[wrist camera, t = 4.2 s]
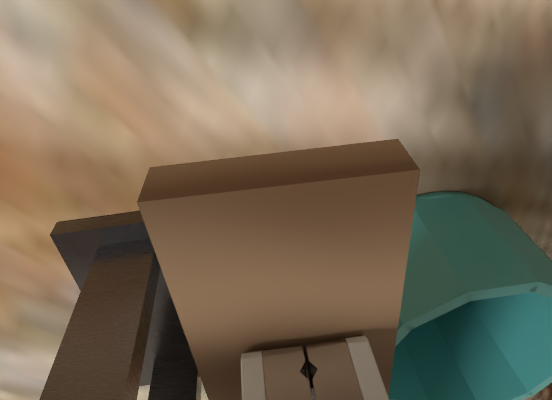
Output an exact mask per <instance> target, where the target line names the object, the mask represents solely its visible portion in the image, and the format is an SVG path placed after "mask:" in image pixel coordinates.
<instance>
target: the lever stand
mask: <svg viewBox="0 0 552 400" xmlns="http://www.w3.org/2000/svg"><path fill="white" fill-rule="evenodd" d="M50 236H51V238H52V240H53V241H54V243H55V245H56V247H57V249H58V251H59V252H60V254H61V256H62V258H63V260H64V261H65V263H66V265H67V267H68V269H69V270H70V272H71V274H72V276H73V278H74V279H75V281H76V283H77V285H78V287H79V289H80V290H81V292H80V295H79V298H78V300H77V303H76V305H75V308H74V311H73V313H72V316H71V318H70V321H69V324H68V326H67V329H66V332H65V334H64V337H63V339H62V342H61V345H60V347H59V350H58V353H57V355H56V358H55V360H54V363H53V366H52V368H51V371H50V373H49V376H48V379H47V381H46V384H45V387H44V389H43V392H42V394H41V397H40V400H137V395H138V389H139V386H144V385H150V391H149V397H148V400H201V377H200V375H199V372H198V369H197V366H196V364H195V361H194V358H193V355H192V352H191V350H190V347H189V344H188V341H187V339H186V336H185V333H184V330H183V328H182V325H181V322H180V319H179V317H178V314H177V311H176V308H175V306H174V303H173V300H172V297H171V295H170V292H169V289H168V286H167V284H166V281H165V278H164V275H163V273H162V270H161V267H160V264H159V262H158V259H157V256H156V253H155V250H154V248H153V245H152V242H151V239H150V237H149V234H148V231H147V228H146V226H145V223H144V220H143V217H142V215H141V212H140V211H137V212H130V213H123V214H115V215H108V216H101V217H93V218H86V219H79V220H71V221H64V222H57V223H56V225H55V227H54V228H53V230H52V232H51V234H50Z"/></svg>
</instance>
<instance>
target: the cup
mask: <svg viewBox="0 0 552 400" xmlns="http://www.w3.org/2000/svg"><path fill="white" fill-rule="evenodd" d="M550 383H552V260H551V259H550V258H549V257H548V256H547V255H546V254H545V253H544V252H543V251H542V250H541V249H540V248H539V247H538V246H537V245H536V243H535V242H534V241H533V240H532V239H531V238H530V237H529V236H528V235H527V234H526V233H525V232H524V231H523V230H522V229H521V228H520V227H519V226H518V225H517V224H516V223H515V222H514V221H513V220H512V219H511V218H510V216H509V215H508V214H507V213H506V212H505V211H504V210H502V209H499V208H497V207H495V206H494V205H492V204H491V203H489V202H488V201H487V200H484V199H482V198H480V197H478V196H475V195H472V194H469V193H463V192H454V191H441V192H431V193H425V194H420V195H416V201H415V208H414V215H413V223H412V230H411V237H410V244H409V252H408V259H407V266H406V273H405V280H404V288H403V295H402V302H401V309H400V316H399V324H398V331H397V338H396V345H395V352H394V360H393V367H392V374H391V381H390V388H389V396H388V398H389V400H524V399H526V398H529V397H531V396H534V395H535V394H537V393H538V392H539V391H541V390H542V389H543V388H545V387H546V386H547V385H549V384H550Z"/></svg>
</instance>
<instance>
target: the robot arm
mask: <svg viewBox="0 0 552 400" xmlns="http://www.w3.org/2000/svg"><path fill="white" fill-rule="evenodd" d="M305 352H306V358H307V363H306V364H307V373H308V379H307V375H306V365H305V358H304V353H303V348H302V345H300V346H293V347H286V348H279V349H272V350H264V351H256V352H249V353H242V355H241V384H242V400H389V398H388V395H387V392H386V390H385V387H384V384H383V381H382V378H381V375H380V372H379V370H378V367H377V364H376V361H375V358H374V355H373V352H372V350H371V347H370V344H369V341H368V339H367V338H366V336H364V335H362V336H356V337H350V338H340V339H334V340H328V341H322V342H316V343H310V344H305Z"/></svg>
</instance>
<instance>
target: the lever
mask: <svg viewBox="0 0 552 400" xmlns="http://www.w3.org/2000/svg"><path fill="white" fill-rule="evenodd" d="M419 172H420V169H419V168H418V166H417V165H416V164H415V162H414V161H413V159H412V158H411V156H410V155H409V154H408V152H407V151H406V149H405V148H404V147H403V145H402V144H401V142H400V141H399V140H398V139H393V140H384V141H375V142H367V143H358V144H349V145H341V146H332V147H323V148H315V149H306V150H297V151H289V152H280V153H271V154H263V155H254V156H245V157H237V158H228V159H219V160H211V161H202V162H193V163H185V164H176V165H167V166H159V167H150V168H149V171H148V174H147V176H146V179H145V182H144V185H143V187H142V190H141V193H140V196H139V198H138V201H137V204H138V206H139V209H140V212H141V215H142V217H143V220H144V223H145V226H146V228H147V231H148V234H149V237H150V239H151V242H152V245H153V248H154V250H155V253H156V256H157V259H158V262H159V264H160V267H161V270H162V273H163V275H164V278H165V281H166V284H167V286H168V289H169V292H170V295H171V297H172V300H173V303H174V306H175V308H176V311H177V314H178V317H179V319H180V322H181V325H182V328H183V330H184V333H185V336H186V339H187V341H188V344H189V347H190V350H191V352H192V355H193V358H194V361H195V364H196V366H197V369H198V372H199V375H200V377H201V380H202V383H203V386H204V388H205V391H206V394H207V397H208V399H209V400H242V384H241V355H242V353H249V352H256V351H264V350H272V349H279V348H286V347H293V346H300V345H302V348H303V353H304V358H305V365H306V375H307V379H308V373H307V364H306V363H307V358H306V352H305V344H310V343H316V342H322V341H328V340H334V339H340V338H350V337H356V336H362V335H364V336H366V338H367V339H368V341H369V344H370V347H371V350H372V352H373V355H374V358H375V361H376V364H377V367H378V370H379V372H380V375H381V378H382V381H383V384H384V387H385V390H386V392H387V395H388V396H389V388H390V381H391V374H392V367H393V360H394V352H395V345H396V338H397V331H398V324H399V316H400V309H401V302H402V295H403V288H404V280H405V273H406V266H407V259H408V252H409V244H410V237H411V230H412V223H413V215H414V208H415V201H416V194H417V187H418V179H419Z"/></svg>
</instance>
